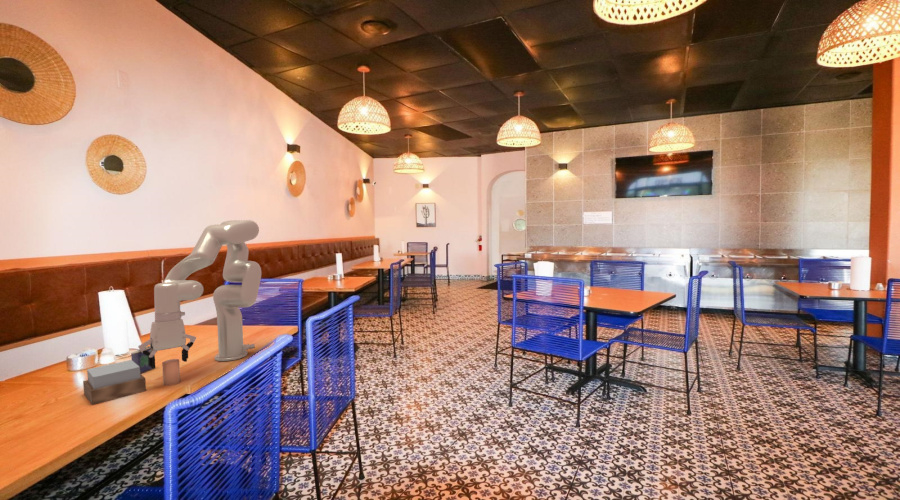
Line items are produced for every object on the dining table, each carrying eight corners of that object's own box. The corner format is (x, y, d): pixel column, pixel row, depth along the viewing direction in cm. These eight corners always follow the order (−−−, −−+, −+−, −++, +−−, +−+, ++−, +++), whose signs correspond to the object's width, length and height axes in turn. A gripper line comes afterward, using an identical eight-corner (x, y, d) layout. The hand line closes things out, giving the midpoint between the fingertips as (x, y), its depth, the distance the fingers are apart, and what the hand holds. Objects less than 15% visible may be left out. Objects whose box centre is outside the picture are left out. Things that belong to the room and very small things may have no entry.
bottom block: (135, 382, 145) (134, 369, 145) (146, 391, 136) (145, 377, 136) (84, 395, 134) (83, 381, 134) (92, 406, 126) (91, 391, 125)
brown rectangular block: (177, 379, 147) (176, 358, 146) (182, 382, 143) (181, 360, 143) (161, 383, 143) (160, 361, 142) (165, 386, 140) (164, 364, 139)
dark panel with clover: (136, 376, 151) (134, 348, 150) (129, 375, 151) (127, 348, 150) (157, 367, 160) (155, 341, 159) (151, 367, 160) (149, 341, 160)
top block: (132, 370, 143) (131, 359, 143) (140, 378, 136) (139, 366, 135) (87, 380, 134) (87, 369, 134) (93, 389, 127) (93, 377, 126)
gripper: (191, 312, 151) (192, 356, 151) (135, 319, 137) (136, 368, 138) (198, 314, 146) (199, 360, 146) (140, 322, 133) (142, 372, 133)
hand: (169, 364), depth 142 cm, fingers open, 9 cm apart
